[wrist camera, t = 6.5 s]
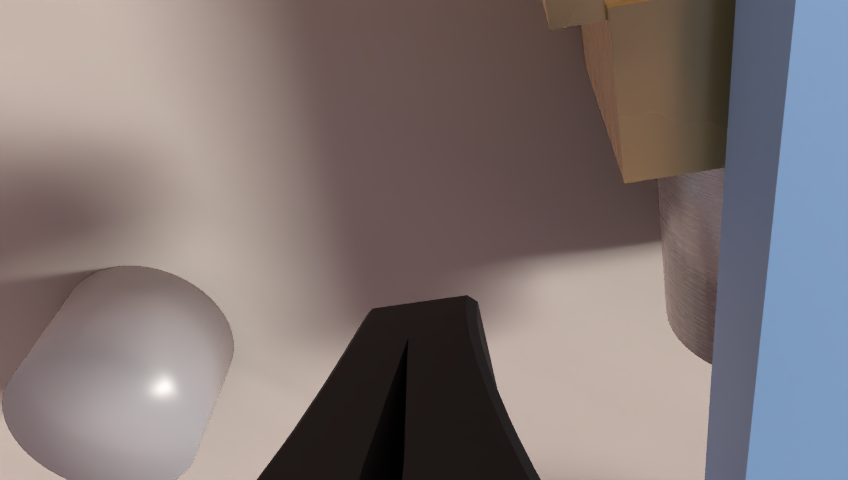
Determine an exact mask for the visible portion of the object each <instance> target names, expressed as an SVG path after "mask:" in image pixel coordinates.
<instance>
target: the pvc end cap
mask: <svg viewBox="0 0 848 480" xmlns="http://www.w3.org/2000/svg"><path fill="white" fill-rule="evenodd" d="M233 352H234V341H233V335H232V331H231V329H230V326H229V323H228V321H227V319H226V318H225V316H224V314H223V313H222V311H221V310H220V308H219V307H218V306H217V305H216V304H215V303H214V301H213V300H212V299H211V298H210V297H208V296H207V295H206V294H205V293H204V292H203V291H201V290H200V289H199V288H197V287H196V286H194V285H193V284H191V283H189V282H188V281H186V280H184V279H182V278H180V277H178V276H176V275H173V274H171V273H168V272H165V271H162V270H158V269H154V268H149V267H141V266H119V267H112V268H108V269H104V270H101V271H98V272H95V273H93V274H92V275H90V276H88V277H86V278H85V279H84V280H82V281H81V282H80V283H79V284H78V285H77V286H76V287H75V288H74V289H73V291H72V292H71V293H70V295H69V296H68V298H67V299H66V301H65V302H64V303H63V305H62V306H61V308H60V309H59V310H58V312H57V313H56V315H55V316H54V318H53V319H52V320H51V322H50V323H49V325H48V326H47V327H46V329H45V330H44V332H43V333H42V334H41V336H40V337H39V339H38V340H37V342H36V343H35V344H34V346H33V347H32V349H31V350H30V351H29V353H28V354H27V356H26V357H25V359H24V360H23V361H22V363H21V364H20V366H19V367H18V368H17V370H16V371H15V373H14V374H13V375H12V377H11V378H10V380H9V382H8V383H7V385H6V388H5V390H4V393H3V400H2V406H3V414H4V418H5V421H6V424H7V426H8V428H9V430H10V432H11V434H12V435H13V437H14V439H15V440H16V441H17V442H18V444H19V445H20V446H21V447H22V448H23V449H24V450H25V451H26V452H27V453H28V454H29V455H30V456H31V457H32V458H33V459H34V460H36V461H37V462H38V463H40V464H41V465H42V466H44V467H45V468H47V469H48V470H50V471H52V472H54V473H55V474H57V475H59V476H61V477H63V478H65V479H68V480H176V479H178V478H179V477H180V476H181V475H183V474H184V473H185V472H186V471H187V469H188V468H189V467H190V466H191V464H192V462H193V461H194V459H195V456H196V454H197V451H198V448H199V446H200V443H201V440H202V438H203V435H204V432H205V430H206V427H207V425H208V422H209V419H210V417H211V414H212V411H213V409H214V406H215V403H216V401H217V398H218V396H219V393H220V390H221V388H222V385H223V382H224V380H225V377H226V374H227V372H228V369H229V366H230V364H231V361H232V358H233Z"/></svg>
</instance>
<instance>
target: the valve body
mask: <svg viewBox="0 0 848 480" xmlns="http://www.w3.org/2000/svg"><path fill="white" fill-rule="evenodd" d="M542 2H543V6H544V10H545V14H546V18H547V22H548V26H549V30H550V31H552V30H557V29H562V28H567V27H573V26H578V25H581V29H582V38H583V47H584V56H585V65H586V69H587V72H588V75H589V78H590V81H591V84H592V87H593V90H594V93H595V96H596V99H597V102H598V105H599V108H600V111H601V114H602V117H603V120H604V123H605V126H606V129H607V132H608V135H609V139H610V142H611V145H612V148H613V151H614V154H615V157H616V160H617V163H618V166H619V169H620V172H621V175H622V178H623V181H624V184H625V183H632V182H638V181H644V180H650V179H657V180H658V194H659V209H660V223H661V238H662V252H663V267H664V282H665V296H666V311H667V316H668V321H669V323H670V326H671V328H672V330H673V332H674V333H675V335H676V336H677V337H678V339H679V340H680V341H681V342H682V343H683V344H684V345H685V346H686V347H687V348H688V349H689V350H690V351H692V352H693V353H694V354H695V355H697V356H698V357H700V358H701V359H703V360H705V361H706V362H708V363H710V364H712V360H713V345H714V330H715V314H716V299H717V283H718V268H719V252H720V237H721V222H722V206H723V191H724V175H725V160H726V145H727V129H728V114H729V98H730V83H731V68H732V52H733V37H734V21H735V6H736V0H542Z"/></svg>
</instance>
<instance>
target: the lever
mask: <svg viewBox="0 0 848 480" xmlns="http://www.w3.org/2000/svg"><path fill="white" fill-rule="evenodd" d="M705 480H848V0H736V6H735V21H734V37H733V52H732V68H731V83H730V98H729V114H728V129H727V145H726V160H725V175H724V191H723V206H722V222H721V237H720V252H719V268H718V283H717V299H716V314H715V330H714V345H713V360H712V376H711V391H710V407H709V422H708V437H707V453H706V468H705Z"/></svg>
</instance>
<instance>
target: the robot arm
mask: <svg viewBox="0 0 848 480" xmlns="http://www.w3.org/2000/svg"><path fill="white" fill-rule="evenodd" d="M257 480H540V478H539V476H538V474H537V472H536V470H535V469H534V467H533V465H532V463H531V461H530V459H529V457H528V455H527V453H526V451H525V449H524V447H523V445H522V443H521V441H520V439H519V437H518V435H517V433H516V431H515V429H514V427H513V425H512V423H511V420H510V418H509V416H508V414H507V411H506V409H505V406H504V404H503V402H502V399H501V397H500V395H499V392H498V390H497V386H496V382H495V377H494V373H493V368H492V364H491V359H490V355H489V350H488V346H487V342H486V337H485V333H484V328H483V324H482V319H481V315H480V310H479V306H478V302H477V301H475V300H474V299H472V298H471V297H469V296H467V295H466V296H459V297H452V298H444V299H437V300H430V301H423V302H416V303H409V304H402V305H395V306H388V307H381V308H374V309H372V310H371V311H370V312H369V314H368V315H367V316H366V318H365V319H364V321H363V322H362V324H361V326H360V327H359V329H358V330H357V332H356V334H355V335H354V337H353V339H352V340H351V342H350V343H349V345H348V347H347V348H346V350H345V352H344V353H343V355H342V356H341V358H340V360H339V361H338V363H337V364H336V366H335V368H334V369H333V371H332V372H331V374H330V376H329V377H328V379H327V380H326V382H325V383H324V385H323V387H322V388H321V390H320V391H319V393H318V394H317V396H316V397H315V399H314V400H313V402H312V403H311V405H310V406H309V408H308V409H307V410H306V412H305V413H304V415H303V416H302V418H301V419H300V421H299V422H298V424H297V425H296V427H295V428H294V430H293V431H292V433H291V434H290V436H289V437H288V438H287V440H286V441H285V443H284V444H283V445H282V447H281V448H280V449H279V451H278V452H277V453H276V455H275V456H274V457H273V459H272V460H271V461H270V463H269V464H268V465H267V467H266V468H265V469H264V471H263V472H262V473H261V475H260V476H259V477H258V479H257Z"/></svg>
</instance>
